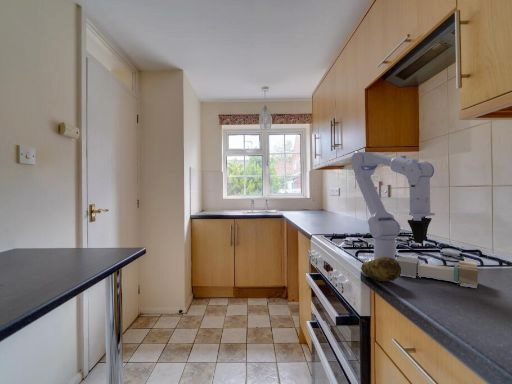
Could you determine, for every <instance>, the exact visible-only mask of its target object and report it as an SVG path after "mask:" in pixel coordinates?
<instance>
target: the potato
mask: <svg viewBox="0 0 512 384" xmlns="http://www.w3.org/2000/svg"><path fill="white" fill-rule="evenodd" d="M373 259H374V258H373ZM360 270H361V272H362V273H363V274H364V275H365V276H366V277H368V278H371V279H373V278H374V279H373V280H376V281H379V280H380V281H379V282H384V281H386V282H390V281H391V282H394V281H395V280H396V279H397V278H399V277H400V276H399V275H400V274H401V267H400V265H399V263H398V262H397V261H396V260H395V259H393V258H390V257H389V258H388V257H379V258H376V259H374V260H372V259H371V260H368V261H364V262H363V263H362V264H361V265H360Z"/></svg>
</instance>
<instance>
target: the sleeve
mask: <svg viewBox="0 0 512 384" xmlns="http://www.w3.org/2000/svg"><path fill="white" fill-rule="evenodd" d="M396 258H397V259H396V261H397V262H398V263H399V265H400V267H401V274H405V275H411V276H417V277H418V274H417V272H418V264H419V263H420V261H419V260H420V259H419V258H416V257H408V256H401V255H399V256H397V257H396Z"/></svg>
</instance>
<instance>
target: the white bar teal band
mask: <svg viewBox="0 0 512 384" xmlns="http://www.w3.org/2000/svg"><path fill="white" fill-rule="evenodd" d="M418 275H420V276H429V277H437V278H442V279H448V280H454V281H456V282H458V281H459V264H458V263H454V264H453V267H452V266H446V265H439V264H431V263H425V262H419V264H418V274H417V276H418Z"/></svg>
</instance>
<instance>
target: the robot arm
mask: <svg viewBox="0 0 512 384" xmlns="http://www.w3.org/2000/svg"><path fill="white" fill-rule="evenodd" d="M350 160H351V161H350V165H351V167H352V169H353V172H354V176H355V177H354V178H355V180H356V182H357V184H358V188H359V190H360V192H361V194H362V197H363V199H364V201H365V204H366V206H367V208H368V212H369V213H370V217H369V218H368V219H367V224H368V230H369V234H370V235H371V236H372V238H373V259H376V258H379V257H388V258H389V257H390V258H393V259H395V255H396V256H397V242H396V239H397V238H398V236H399V234H400V233H401V225H400V223H399V222H398V220H396V219H395V217H394V215H393V214H392V213H390V212H388V211H387V210H386V208H385V206H384V203H383V201H382V199H381V197H380V195H379V193H378V190H377V188H376V186H375V184H374V182H373V179H372V178H371V177H372V175H374V173H375V171H376V170H377V168H378V166H379V165H383V166H387V167H390V170H391V171H392V172H394V173H398V174H399V175H403V176H405V178H406V179H407V184H408V186H409V187H408V188H409V190H408V191H409V212H408V214H409V215H408V216H411V217H413V218H411V219H407V223H408V226H409V227H410V229H411V234H412V236H413V237H412V239H413V242H414V243H415V244H424V241H425V240H426V239H427V234H428V230H429V226H430V224H431V222H432V218H431V216H435V214H436V213H435V212H431V178H432V177H433V176H434V174H435V168H434V165H433V164H432V163H431V162H428V161H419V159H418V158H413V159H412V158H408V157H407V155H404V154H400V155H397V156H395V157H393V156H390V155H387V154H385V153H381V152H376V151H372V152H371V151H370V152H369V151H368V152H367V151H354V152H353V154H352V156H351V159H350Z"/></svg>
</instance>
